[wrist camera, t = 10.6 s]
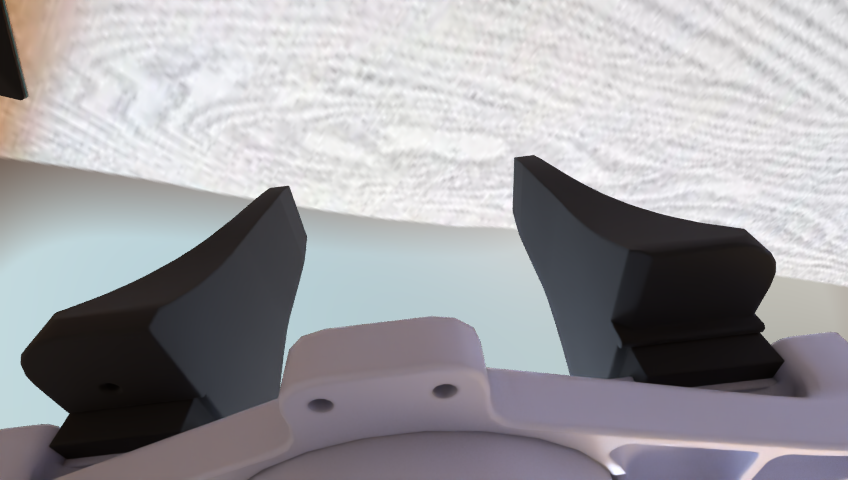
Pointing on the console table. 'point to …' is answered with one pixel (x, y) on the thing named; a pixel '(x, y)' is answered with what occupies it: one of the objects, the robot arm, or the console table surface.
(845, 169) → the console table surface
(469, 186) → the console table surface
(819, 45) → the console table surface
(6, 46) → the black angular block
